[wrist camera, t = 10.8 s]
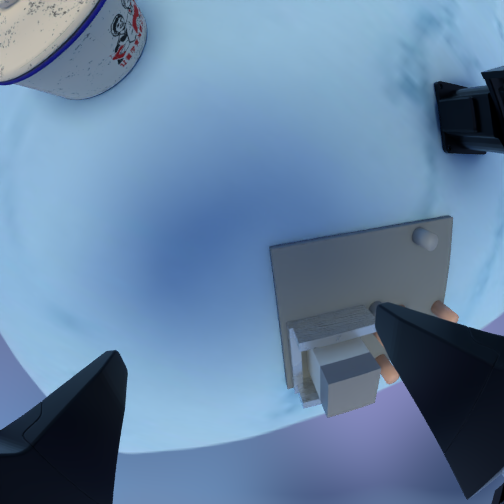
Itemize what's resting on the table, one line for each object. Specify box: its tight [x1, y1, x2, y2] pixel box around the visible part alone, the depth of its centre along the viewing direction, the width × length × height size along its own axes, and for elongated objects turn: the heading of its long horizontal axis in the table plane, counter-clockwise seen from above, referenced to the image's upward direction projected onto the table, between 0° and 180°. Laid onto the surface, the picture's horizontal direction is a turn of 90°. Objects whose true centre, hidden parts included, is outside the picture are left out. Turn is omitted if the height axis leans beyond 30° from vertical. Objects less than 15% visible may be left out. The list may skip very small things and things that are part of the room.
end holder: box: [286, 304, 376, 408], centre depth 22 cm, size 7×8×3 cm
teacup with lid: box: [0, 0, 147, 100], centre depth 8 cm, size 12×9×12 cm
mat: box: [269, 216, 453, 389], centre depth 23 cm, size 17×14×1 cm
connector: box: [307, 337, 381, 418], centre depth 21 cm, size 4×4×6 cm
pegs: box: [369, 227, 459, 384], centre depth 22 cm, size 9×14×3 cm, turn 9°
